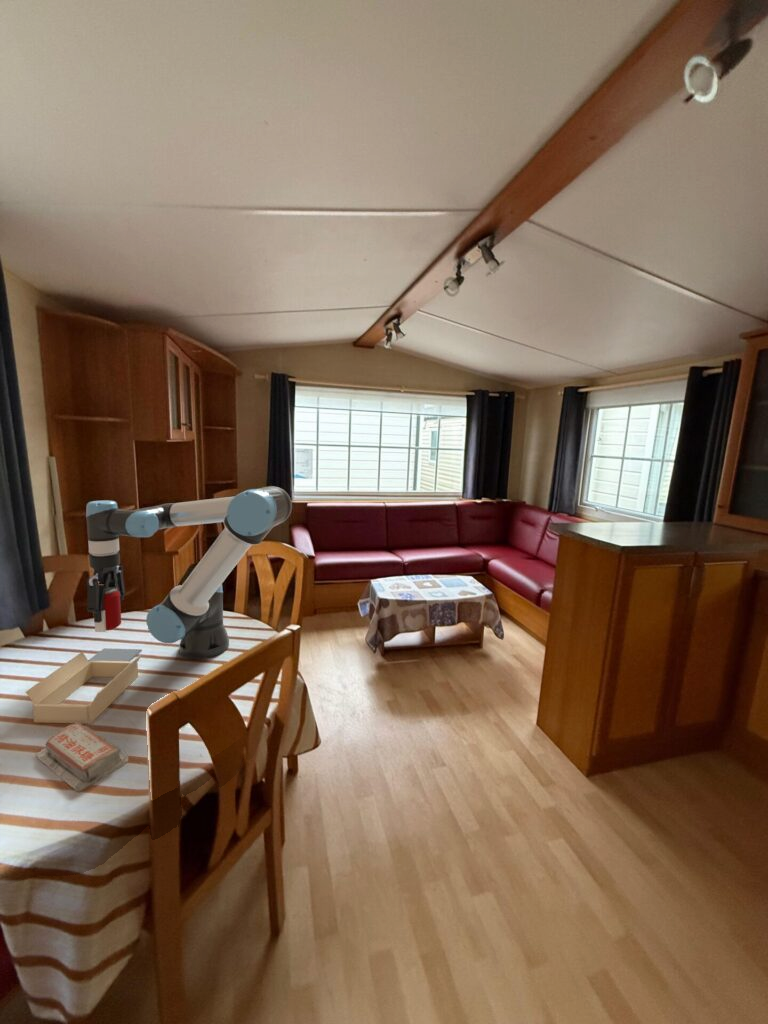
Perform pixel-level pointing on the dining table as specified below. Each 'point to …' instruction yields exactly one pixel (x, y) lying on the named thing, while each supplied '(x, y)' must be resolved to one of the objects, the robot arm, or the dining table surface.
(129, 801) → the dining table surface
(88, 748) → the packaged product
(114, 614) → the beverage can
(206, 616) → the robot arm
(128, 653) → the coaster
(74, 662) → the carton
